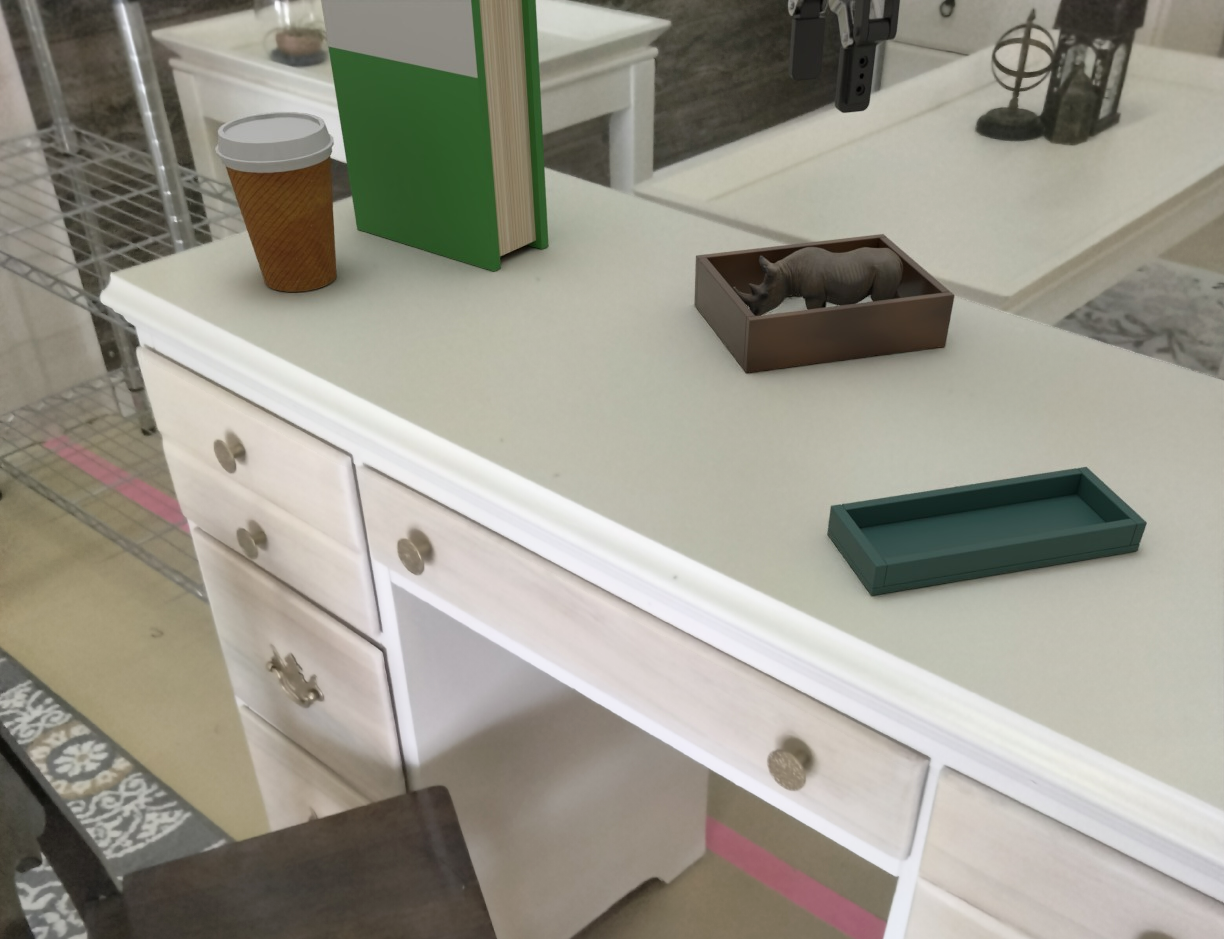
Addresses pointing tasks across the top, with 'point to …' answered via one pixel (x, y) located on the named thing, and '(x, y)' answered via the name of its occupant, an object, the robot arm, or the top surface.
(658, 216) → the top surface
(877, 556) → the tray
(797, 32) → the robot arm
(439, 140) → the hardback book
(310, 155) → the disposable coffee cup
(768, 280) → the rhino figurine
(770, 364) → the open box
